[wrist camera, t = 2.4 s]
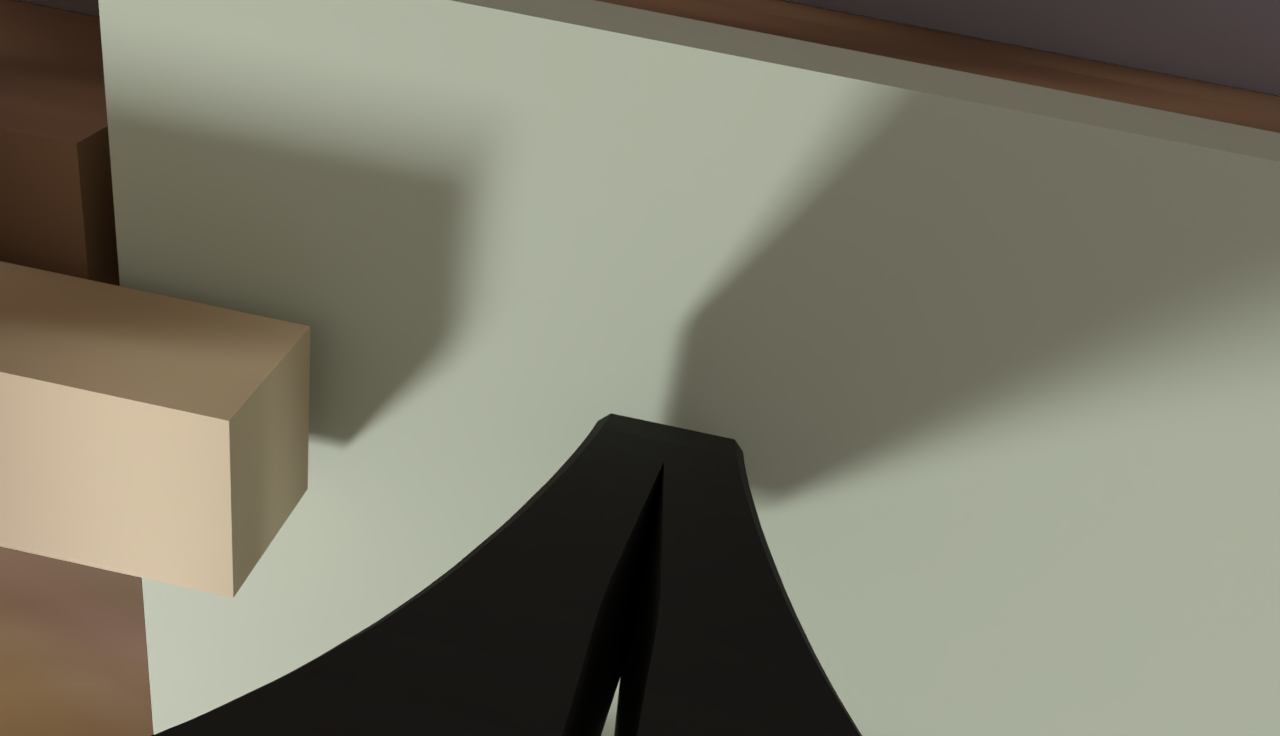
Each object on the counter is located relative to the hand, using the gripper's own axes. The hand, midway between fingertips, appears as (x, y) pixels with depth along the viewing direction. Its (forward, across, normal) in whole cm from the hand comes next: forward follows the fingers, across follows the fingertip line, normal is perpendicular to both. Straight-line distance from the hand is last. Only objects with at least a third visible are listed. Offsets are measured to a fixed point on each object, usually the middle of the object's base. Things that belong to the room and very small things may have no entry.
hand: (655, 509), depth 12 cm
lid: (+2, -1, +5) cm, 5 cm away
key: (0, +7, 0) cm, 7 cm away
